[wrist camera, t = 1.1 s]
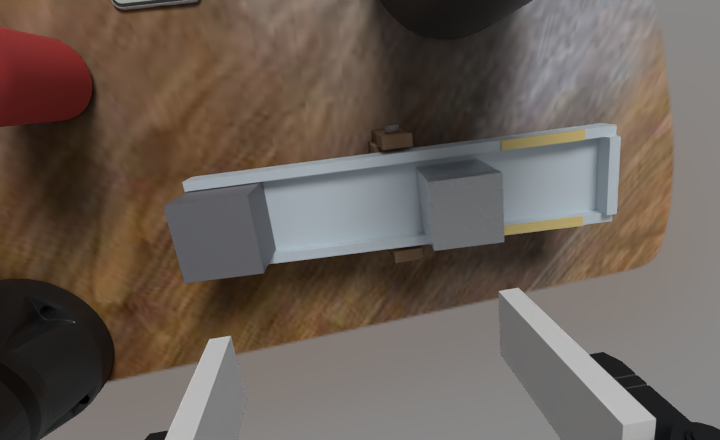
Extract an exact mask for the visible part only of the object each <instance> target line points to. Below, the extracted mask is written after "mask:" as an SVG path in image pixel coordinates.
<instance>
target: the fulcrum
mask: <svg viewBox="0 0 720 440" xmlns="http://www.w3.org/2000/svg"><path fill="white" fill-rule="evenodd" d="M371 132H372V140H373V142H368V143H369V151H370V154H371V153H378V152H386V151H394V150H401V149H409V148H412V146H413V139H412V133H411V132H408V131H405V130H403V129H400V128H399V124H395V125H387V126H384V129H381V130H374V131H371ZM389 250H390V252H391V254H392V257H393V259H394V261H395V263H401V262H408V261H414V260H420V259H423V249H422V247H421V245H418V246H410V247H402V248H394V249H389Z"/></svg>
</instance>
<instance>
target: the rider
mask: <svg viewBox="0 0 720 440" xmlns="http://www.w3.org/2000/svg"><path fill="white" fill-rule="evenodd" d="M416 177H417V188H418V199H419V209H420V220H421V226H422V228H423V230H424V232H425V234H426V236H427V238H428V240H429V242H430V244H431V246H432V248H433V250H434V251H438V250H446V249H454V248H462V247H470V246H478V245H486V244H494V243H502V242H504V209H503V175H502V172H500V171H499V170H497V169H495V168H493V167H491V166H489V165H488V164H486V163H484V162H482V161H480V160H479V159H472V160H464V161H457V162H449V163H441V164H434V165H426V166H418V167H416Z"/></svg>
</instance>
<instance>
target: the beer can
mask: <svg viewBox="0 0 720 440" xmlns="http://www.w3.org/2000/svg"><path fill="white" fill-rule="evenodd" d="M91 96H92V79H91V76H90V72H89V69H88V67H87V66H86V64H85V63H84V61H83V59H82V58H81V56H80V55H78V54H77V53H76V52H75V51H74V50H73V49H72V48H71V47H70V46H68V45H66V44H64V43H62V42H61V41H59V40H57V39H52V38H48V37H43V36H38V35H34V34H29V33H25V32H20V31H15V30H11V29H6V28H2V27H0V127H4V126H14V125H24V124H35V123H45V122H55V121H64V120H69V119H71V118H74V117H76V116H78V115H79V114H80V113H81V112H82V111H83V110H84V109H85V108H86V107H87V106H88V103H89V101H90V98H91Z"/></svg>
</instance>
